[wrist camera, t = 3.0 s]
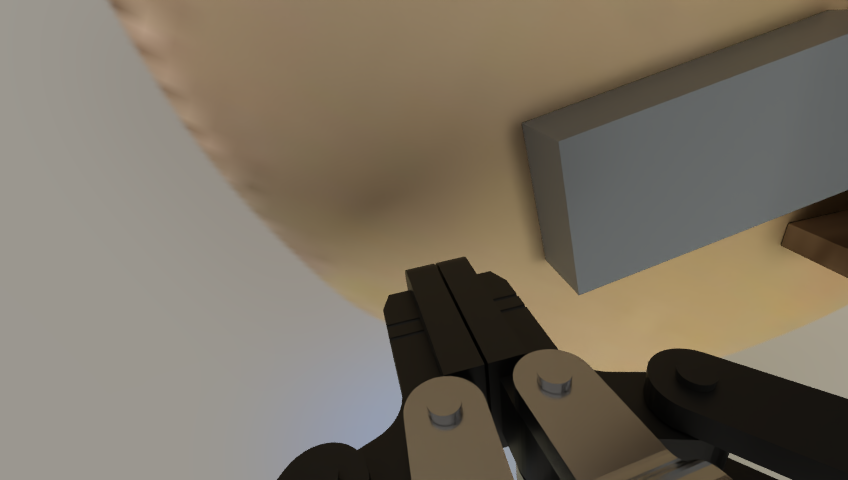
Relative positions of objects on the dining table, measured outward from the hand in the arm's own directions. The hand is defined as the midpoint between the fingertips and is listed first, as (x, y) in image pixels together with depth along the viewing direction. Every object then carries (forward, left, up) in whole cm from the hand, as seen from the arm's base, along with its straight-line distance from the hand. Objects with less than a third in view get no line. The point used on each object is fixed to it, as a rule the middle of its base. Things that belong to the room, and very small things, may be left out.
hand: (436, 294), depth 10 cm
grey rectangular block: (-1, +11, -6) cm, 12 cm away
